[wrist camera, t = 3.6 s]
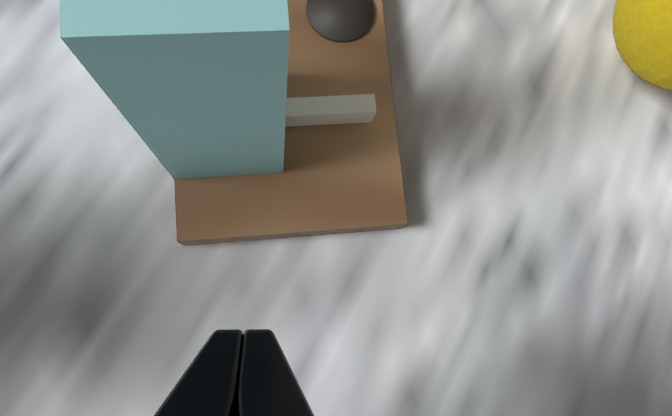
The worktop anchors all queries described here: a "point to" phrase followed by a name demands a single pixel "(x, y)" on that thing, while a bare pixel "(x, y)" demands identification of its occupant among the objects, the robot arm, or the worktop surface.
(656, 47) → the lemon
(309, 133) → the board
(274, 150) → the block
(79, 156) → the worktop surface
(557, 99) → the worktop surface
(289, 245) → the worktop surface
